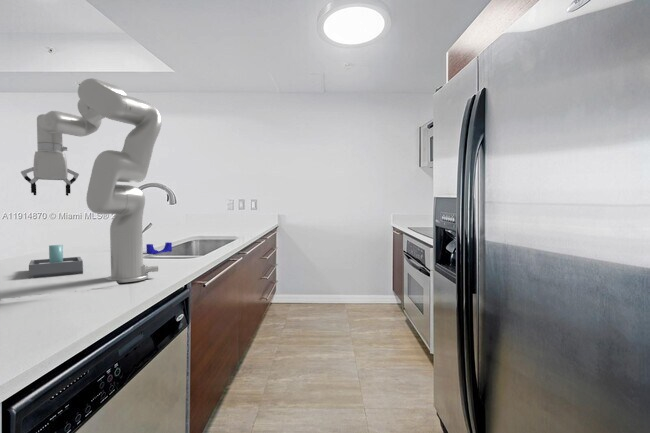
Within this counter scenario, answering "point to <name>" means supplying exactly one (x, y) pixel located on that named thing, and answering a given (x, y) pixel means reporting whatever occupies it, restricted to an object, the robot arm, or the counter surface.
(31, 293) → the counter surface
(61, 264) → the walled box
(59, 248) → the teal cylinder
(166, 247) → the cable clip
